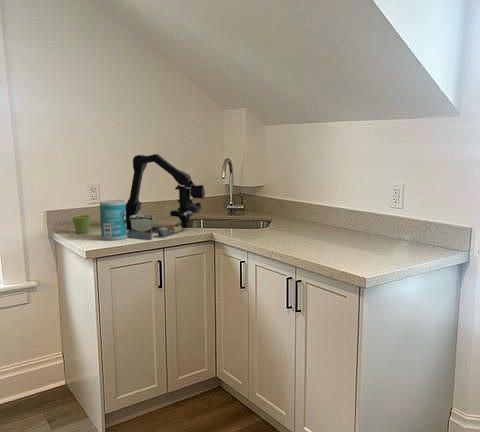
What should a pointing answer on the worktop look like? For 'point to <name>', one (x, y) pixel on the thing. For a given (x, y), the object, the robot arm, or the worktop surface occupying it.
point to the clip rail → (165, 232)
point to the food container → (142, 223)
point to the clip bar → (176, 229)
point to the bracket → (144, 235)
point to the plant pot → (81, 223)
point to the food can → (113, 220)
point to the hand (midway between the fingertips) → (185, 227)
